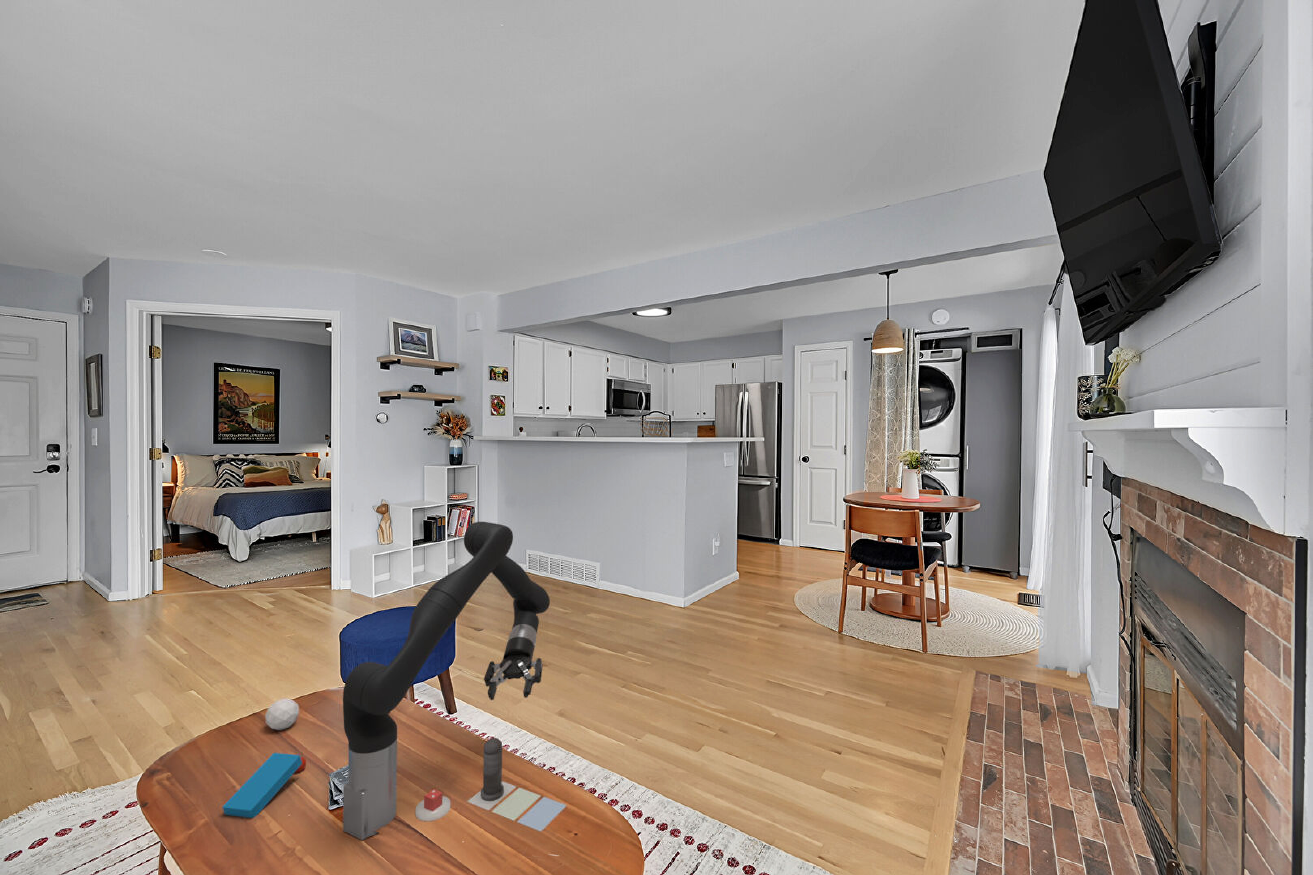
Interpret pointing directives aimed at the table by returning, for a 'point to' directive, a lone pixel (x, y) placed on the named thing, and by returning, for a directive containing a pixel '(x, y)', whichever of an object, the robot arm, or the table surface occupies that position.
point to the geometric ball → (282, 714)
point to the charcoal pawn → (492, 771)
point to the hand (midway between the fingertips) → (508, 696)
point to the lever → (263, 785)
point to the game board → (522, 807)
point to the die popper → (433, 806)
